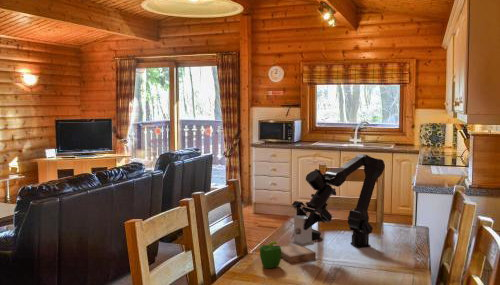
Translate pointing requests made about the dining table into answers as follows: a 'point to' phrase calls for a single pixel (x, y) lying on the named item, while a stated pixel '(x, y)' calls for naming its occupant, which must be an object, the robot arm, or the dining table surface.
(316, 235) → the grey brown rock
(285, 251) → the stand
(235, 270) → the dining table surface
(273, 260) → the bell pepper
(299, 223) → the plate
